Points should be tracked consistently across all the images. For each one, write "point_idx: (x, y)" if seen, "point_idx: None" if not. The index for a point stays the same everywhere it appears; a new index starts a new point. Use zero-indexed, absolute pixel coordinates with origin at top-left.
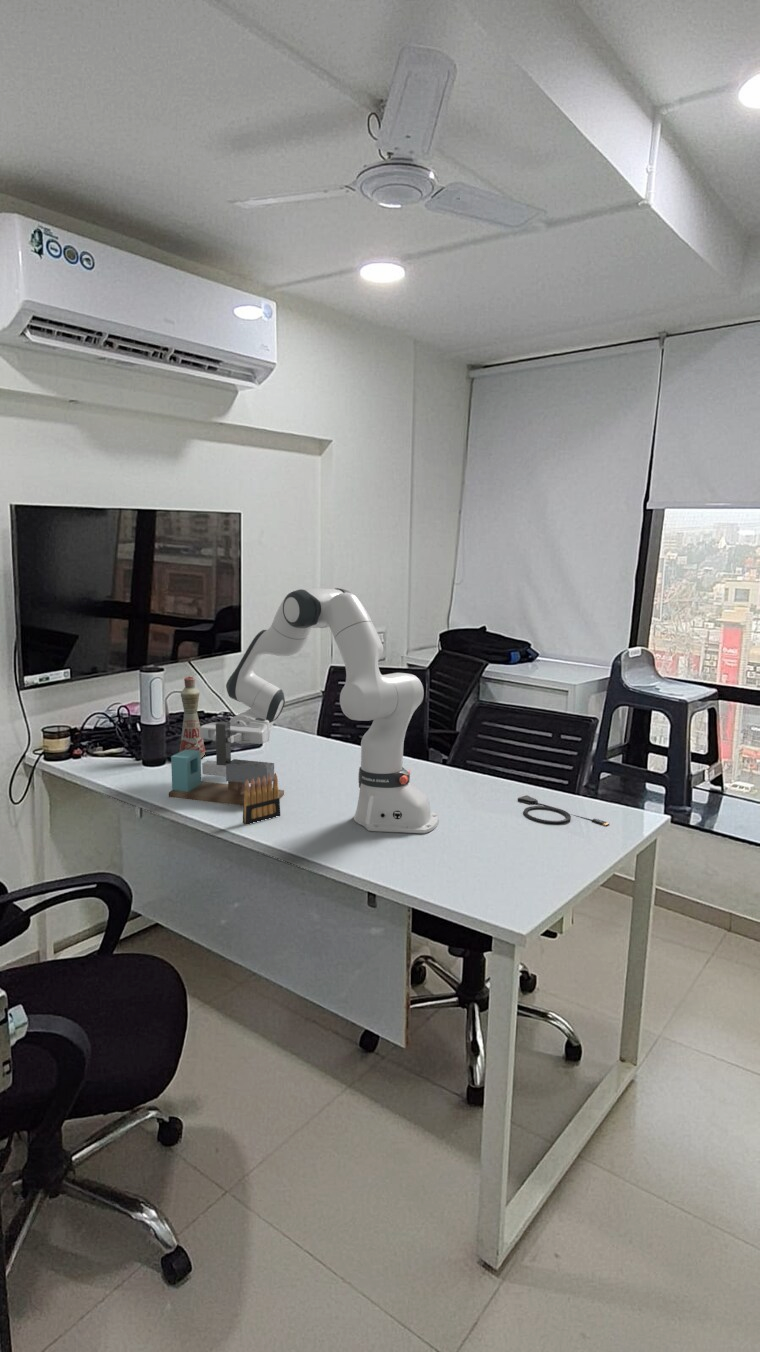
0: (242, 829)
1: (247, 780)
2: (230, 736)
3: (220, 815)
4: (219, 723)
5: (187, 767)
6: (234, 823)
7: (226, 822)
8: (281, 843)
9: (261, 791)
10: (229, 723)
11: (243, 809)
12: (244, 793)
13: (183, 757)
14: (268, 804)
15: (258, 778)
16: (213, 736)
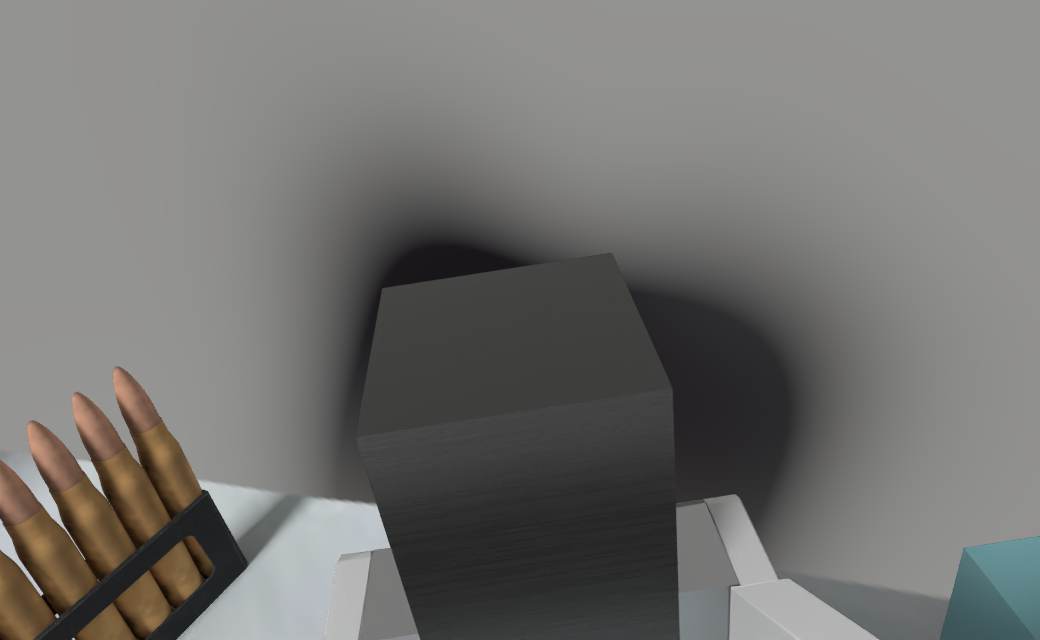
0: (231, 508)
1: (114, 371)
2: (376, 578)
3: None
4: (557, 289)
5: (950, 636)
6: (291, 544)
7: (338, 537)
8: (38, 475)
9: (61, 527)
10: (366, 428)
11: (215, 510)
12: (169, 432)
13: (1023, 549)
14: (53, 611)
15: (35, 426)
16: (715, 501)
